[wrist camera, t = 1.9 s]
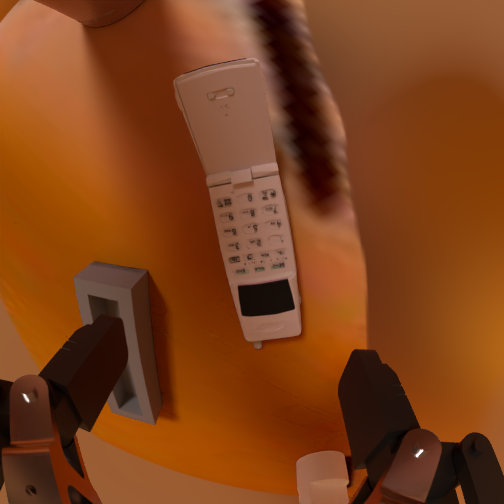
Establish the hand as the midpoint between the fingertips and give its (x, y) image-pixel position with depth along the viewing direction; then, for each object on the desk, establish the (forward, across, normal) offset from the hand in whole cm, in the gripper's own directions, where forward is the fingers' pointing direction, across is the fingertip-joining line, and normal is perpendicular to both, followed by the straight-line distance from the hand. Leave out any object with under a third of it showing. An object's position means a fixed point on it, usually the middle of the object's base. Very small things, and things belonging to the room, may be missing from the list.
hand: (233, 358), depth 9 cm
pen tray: (+16, +13, +16) cm, 26 cm away
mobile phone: (+16, 0, 0) cm, 17 cm away
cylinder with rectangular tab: (+17, -17, +41) cm, 47 cm away
